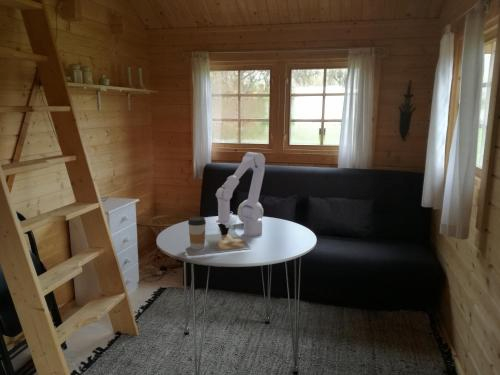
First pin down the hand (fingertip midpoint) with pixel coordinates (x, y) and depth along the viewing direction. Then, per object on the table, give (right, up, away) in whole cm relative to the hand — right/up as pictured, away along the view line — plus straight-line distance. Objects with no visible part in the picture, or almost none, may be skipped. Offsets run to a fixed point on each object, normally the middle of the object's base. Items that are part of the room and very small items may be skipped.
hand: (224, 237), depth 202 cm
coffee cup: (-12, -4, -10) cm, 16 cm away
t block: (+2, -2, -7) cm, 7 cm away
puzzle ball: (+13, +4, +32) cm, 35 cm away
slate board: (+1, -2, -1) cm, 3 cm away
